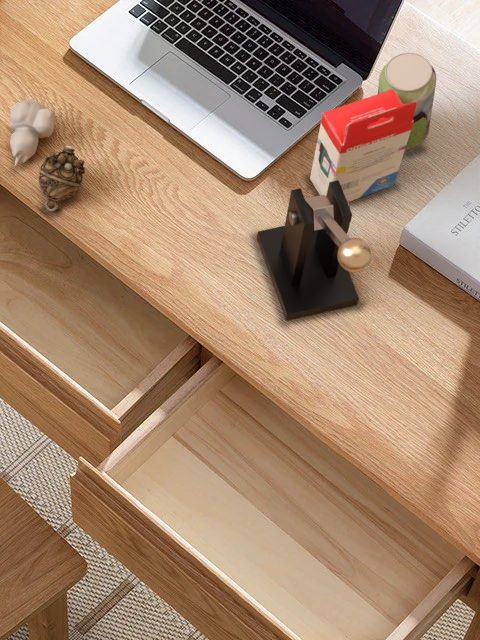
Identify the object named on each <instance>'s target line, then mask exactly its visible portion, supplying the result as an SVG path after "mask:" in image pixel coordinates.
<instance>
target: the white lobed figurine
mask: <svg viewBox="0 0 480 640" xmlns="http://www.w3.org/2000/svg"><path fill="white" fill-rule="evenodd" d="M9 118H10V119H9V125H10V127H11V128H12V130H13V133H12V134H11V136H10V140H9V146H10V149H11V154H12V156H13V157H14V158H15V161H14V167H16V166H17V165H18V164H19V162H20V161H22V163H26V162H27V161H28V160H29V159H31V157H33V156H34V155H35V154H36V152H37V148H38V145H39V139H44V138H49V137H50V136H51V135H52V134H53V133H54V128H55V119H54V118H55V112H54V111H52V110H51V109H48V107H46V106H45V105H44V104H42V103H41V102H39V101H37V100H34V99H23V100H20V101H18V102H16V103H14V105H13V106H12V108H11V110H10V113H9Z"/></svg>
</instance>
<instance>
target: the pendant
mask: <svg viewBox="0 0 480 640" xmlns="http://www.w3.org/2000/svg"><path fill="white" fill-rule="evenodd" d="M75 154H76V152H75V148H74V147H73V146H71V145H65V146H64V148H63V149H62V151H58V149H55V150H51V151H50V154H49V156H48V155H45V156H44V157H43V159H44V161H43V162H42V164H41V165H40V168H39V169H38V171H39V172H38V173H39V174H38V175H39V176H38V184H39V188H40V189H41V191H42V193H43V194H44V195H45V196H46V198H47V199H46V201H44V207H45V209H46V210H47V211H48V212H51V213H53V212H56V211H57V210H58V207H59V203H58V202H61V201H64V200H68V199H70V198H73V197H74V196H75V195H76V194H77V192H78V189H79V187H81V185H82V183H83V178H84V177H83V175H84V174H85V173H86V168H85V163H86V161H85V160H84V159H79V157H77V156H76V155H75ZM50 202H52V203H53V204H54V207H53V208H50V206H49V204H50Z"/></svg>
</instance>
